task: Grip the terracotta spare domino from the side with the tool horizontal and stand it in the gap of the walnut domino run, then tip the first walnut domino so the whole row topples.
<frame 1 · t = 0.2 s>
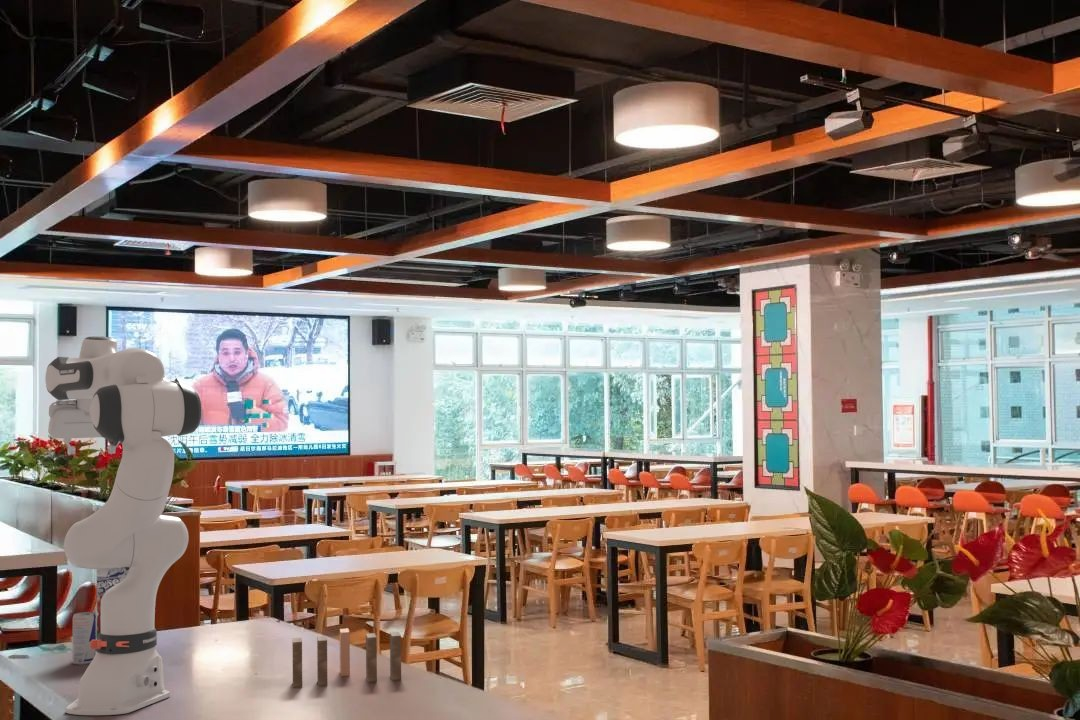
hand: (91, 453, 277), 52 cm above the table, tool tilted 20°, fingers open, 8 cm apart
domino 4: (371, 679, 255), on the table
domino 2: (322, 683, 253), on the table
domino 1: (297, 685, 252), on the table
spare domino: (344, 673, 262), on the table
domino 5: (395, 678, 257), on the table
energy drink: (84, 663, 279), on the table
juice carton: (119, 653, 291), on the table
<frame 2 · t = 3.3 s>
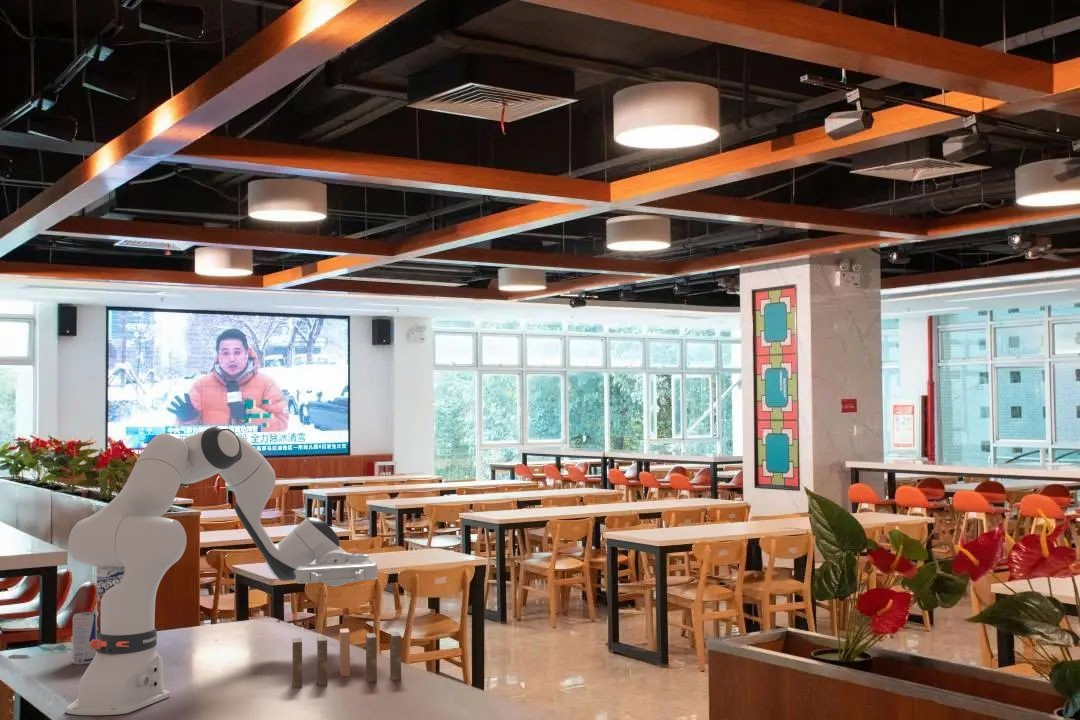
hand: (338, 577, 275), 21 cm above the table, tool horizontal, fingers open, 8 cm apart
nothing on the table moved.
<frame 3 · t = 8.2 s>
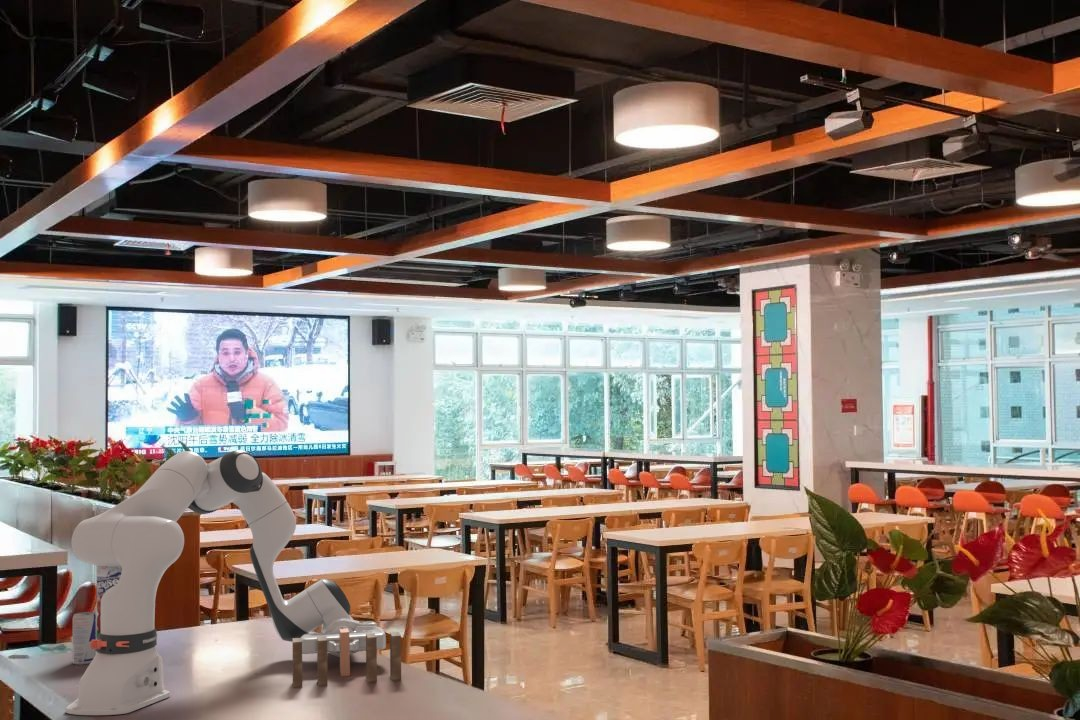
hand: (344, 648, 261), 6 cm above the table, tool horizontal, fingers closed on spare domino, 2 cm apart
spare domino: (344, 673, 262), on the table, touching gripper
everything else where it was.
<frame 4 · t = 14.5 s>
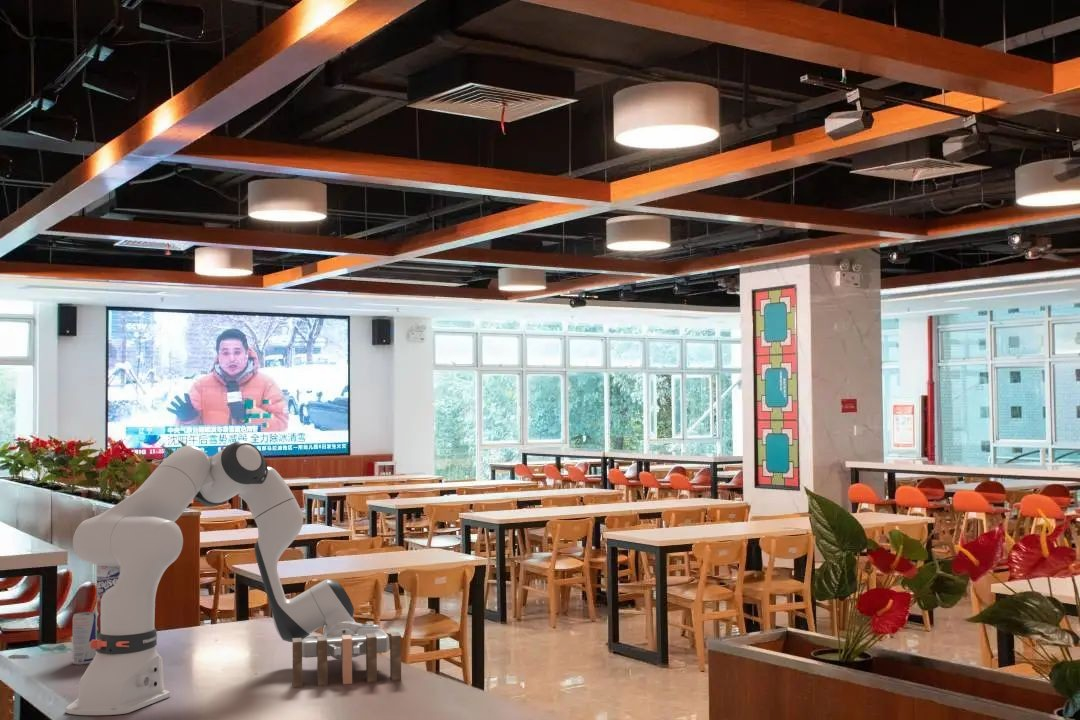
hand: (347, 651, 254), 7 cm above the table, tool horizontal, fingers open, 3 cm apart
spare domino: (347, 681, 254), on the table
everything else where it was.
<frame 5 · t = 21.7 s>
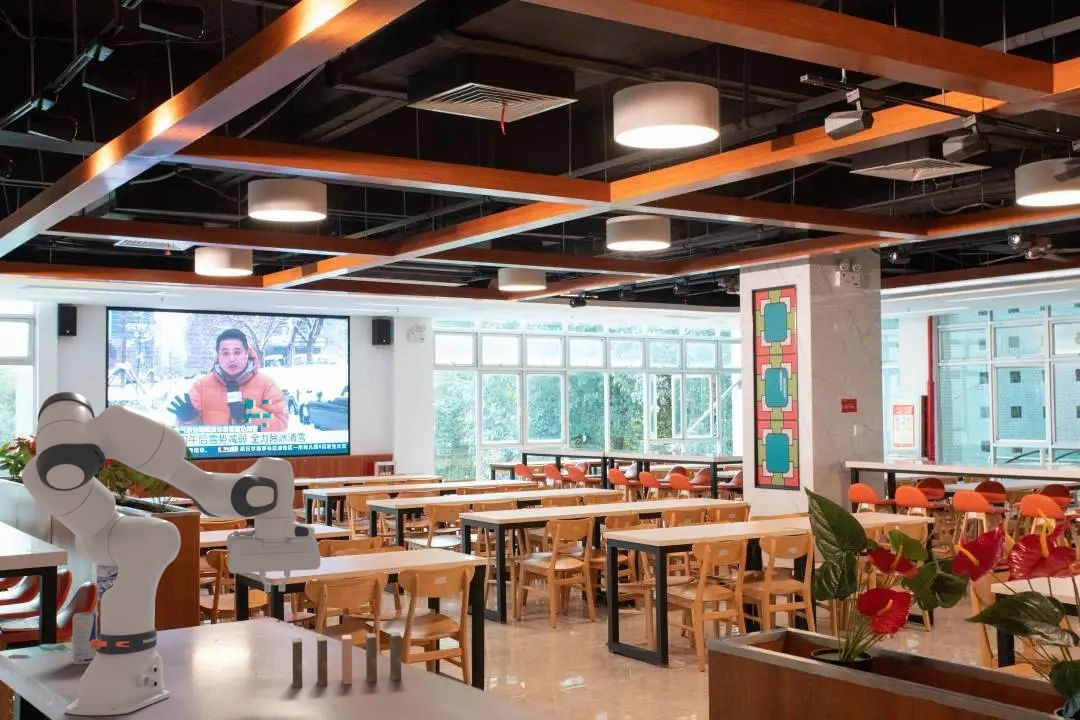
hand: (274, 591, 251), 21 cm above the table, tool pointing down, fingers closed
nothing on the table moved.
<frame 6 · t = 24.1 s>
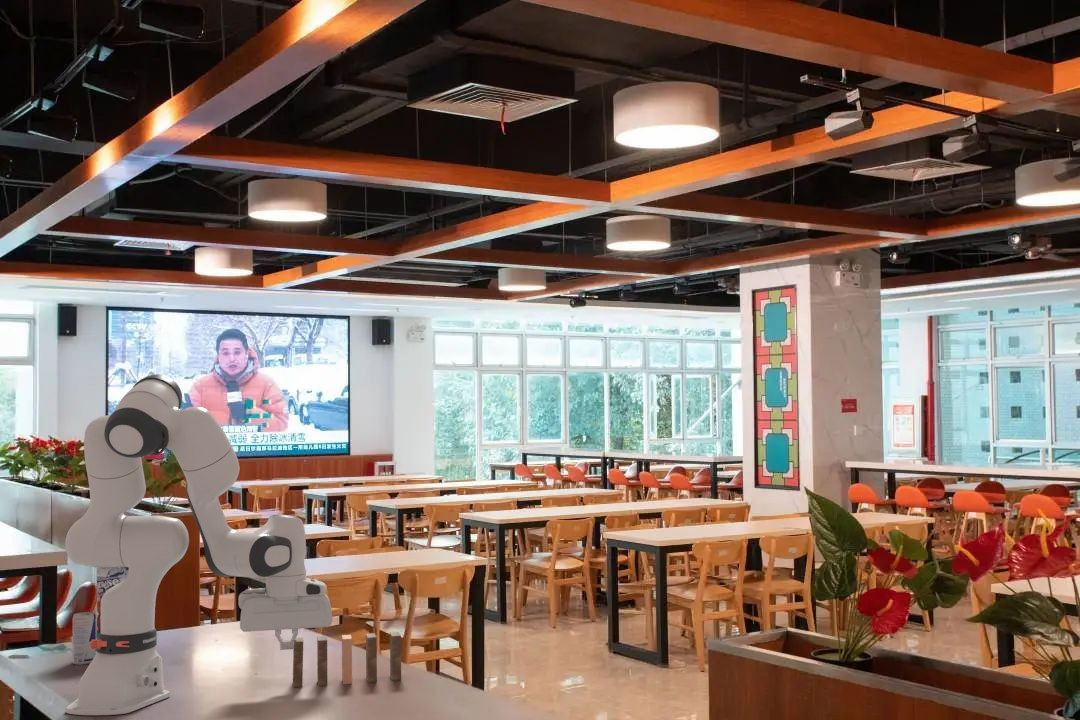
hand: (286, 649, 251), 8 cm above the table, tool pointing down, fingers closed
domino 1: (297, 684, 252), on the table, touching gripper
everything else where it was.
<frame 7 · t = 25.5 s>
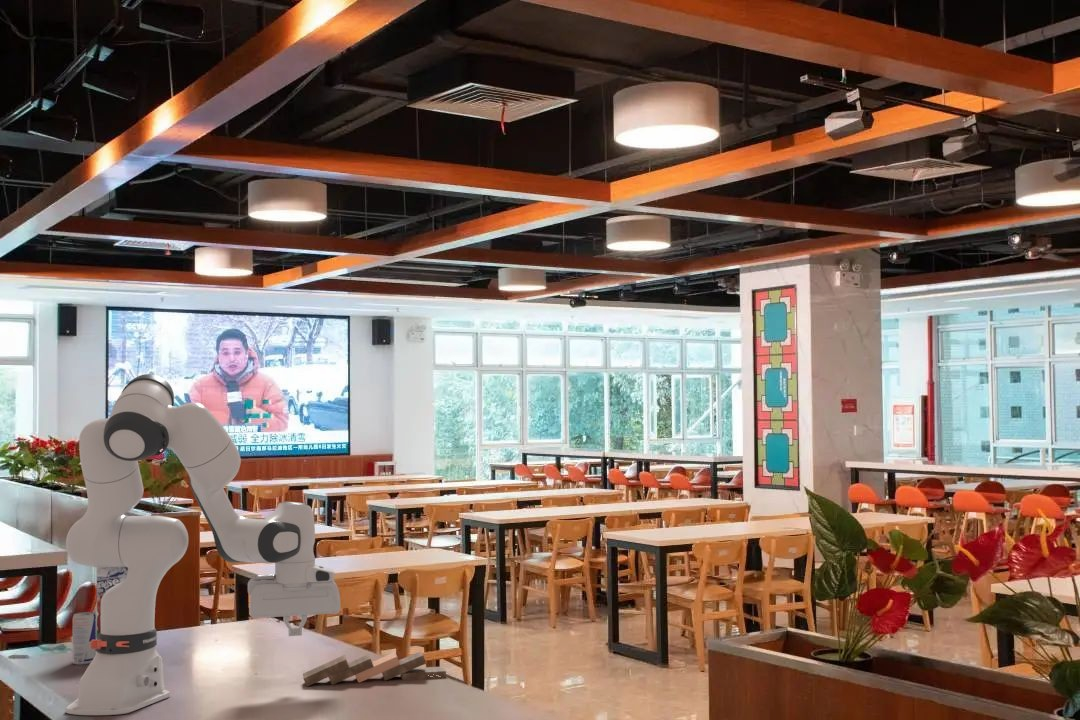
hand: (295, 635, 253), 11 cm above the table, tool pointing down, fingers closed
domino 4: (382, 674, 256), point 1 cm above the table, tilted 71°, touching domino 5, spare domino
domino 2: (329, 678, 253), point 1 cm above the table, tilted 70°, touching domino 1, spare domino
domino 1: (304, 680, 252), point 1 cm above the table, tilted 69°, touching domino 2
spare domino: (355, 676, 255), point 1 cm above the table, tilted 70°, touching domino 2, domino 4
domino 5: (401, 675, 257), on the table, tilted 90°, touching domino 4
everything else where it was.
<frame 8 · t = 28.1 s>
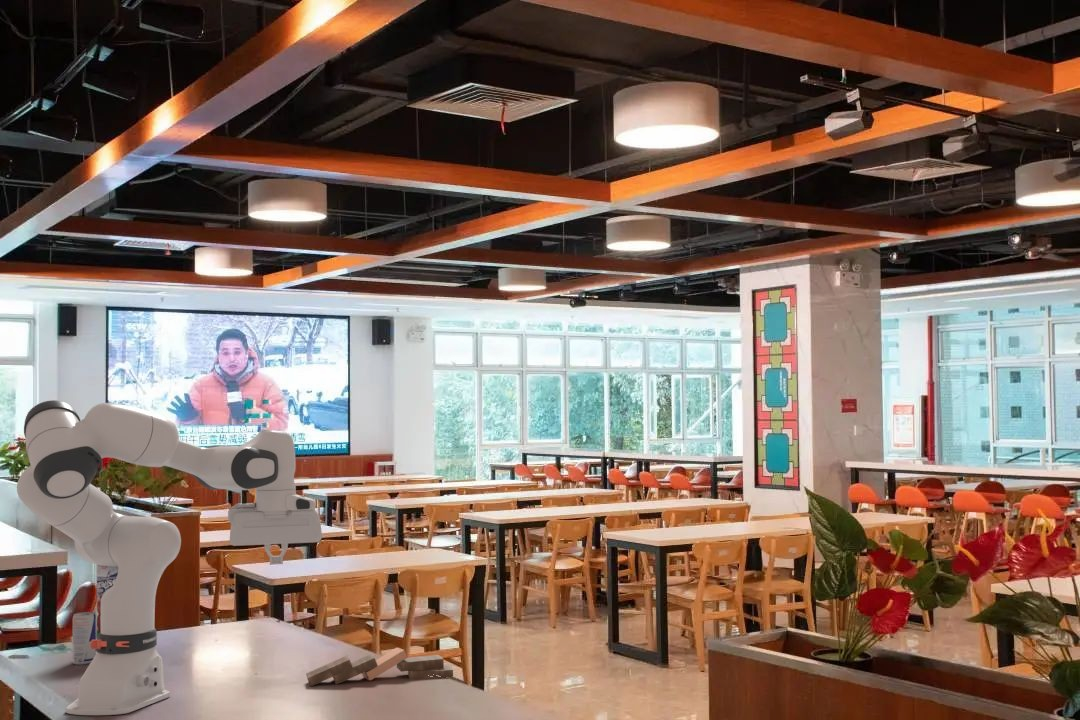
hand: (276, 564, 252), 27 cm above the table, tool pointing down, fingers closed
domino 4: (398, 665, 258), point 3 cm above the table, tilted 90°, touching domino 5, spare domino
domino 2: (333, 678, 253), point 1 cm above the table, tilted 70°, touching domino 1
domino 1: (308, 680, 252), point 1 cm above the table, tilted 70°, touching domino 2
spare domino: (365, 675, 255), point 1 cm above the table, tilted 66°, touching domino 4
domino 5: (408, 674, 258), point 1 cm above the table, tilted 90°, touching domino 4
everything else where it was.
at the end: domino 5 tilted 90°; spare domino tilted 66°; spare domino inside the target area (1.0 cm from its centre), point 1.0 cm above the table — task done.
